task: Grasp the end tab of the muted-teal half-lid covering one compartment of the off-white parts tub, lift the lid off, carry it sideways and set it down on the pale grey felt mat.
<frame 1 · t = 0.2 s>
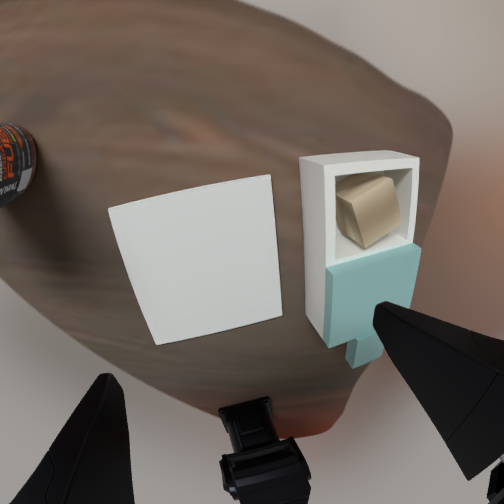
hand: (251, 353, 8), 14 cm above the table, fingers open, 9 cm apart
cube c: (350, 199, 23), resting on tub
lid: (369, 292, 23), point 4 cm above the table, touching tub
tub: (348, 235, 25), on the table
supplement bottle: (11, 160, 15), on the table
mat: (204, 268, 23), on the table
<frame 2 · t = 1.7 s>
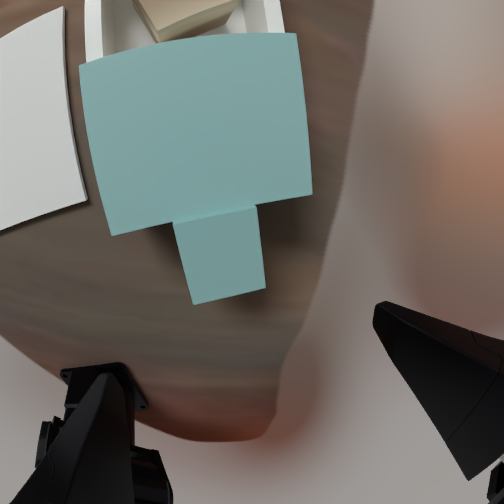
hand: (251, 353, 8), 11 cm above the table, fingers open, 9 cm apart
cube c: (178, 12, 11), resting on tub
lid: (197, 124, 11), point 4 cm above the table, touching tub
tub: (184, 64, 13), on the table
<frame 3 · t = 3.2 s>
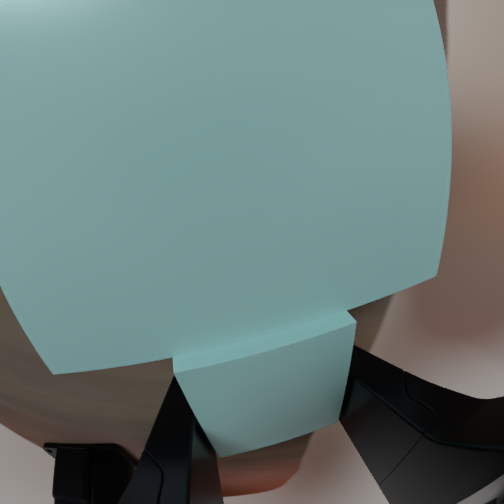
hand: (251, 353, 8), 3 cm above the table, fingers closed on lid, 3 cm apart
lid: (221, 120, 5), point 4 cm above the table, touching gripper, tub
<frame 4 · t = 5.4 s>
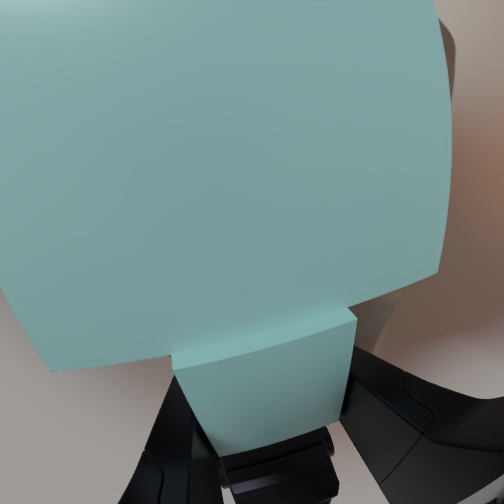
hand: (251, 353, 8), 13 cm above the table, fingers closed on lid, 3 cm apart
lid: (221, 116, 5), point 14 cm above the table, touching gripper
when the fingers open (1 cm above the table, at t = 7.8 s): lid drops 2 cm, resting on mat.
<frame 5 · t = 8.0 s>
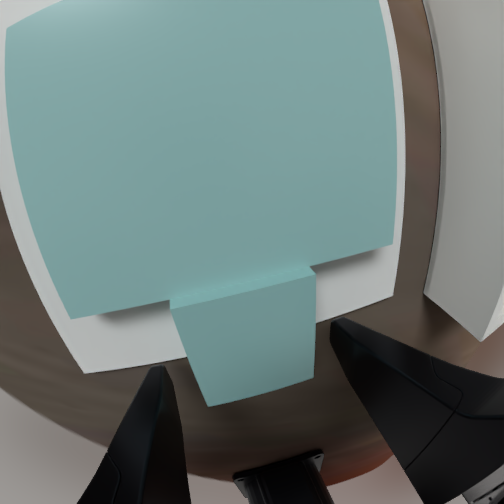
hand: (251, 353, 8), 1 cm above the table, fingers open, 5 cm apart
lid: (209, 120, 6), resting on mat
tub: (490, 133, 9), on the table
mat: (209, 135, 7), on the table
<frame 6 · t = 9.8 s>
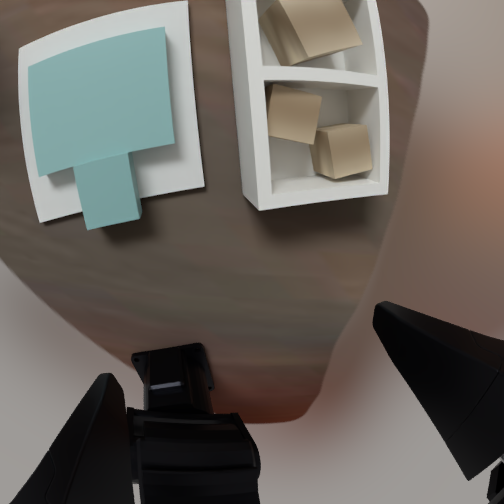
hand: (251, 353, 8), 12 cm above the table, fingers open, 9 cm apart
cube c: (295, 36, 15), resting on tub
cube a: (328, 146, 19), resting on tub
lid: (98, 100, 14), resting on mat
tub: (298, 82, 17), on the table
mat: (100, 106, 14), on the table
cube b: (276, 115, 17), resting on tub
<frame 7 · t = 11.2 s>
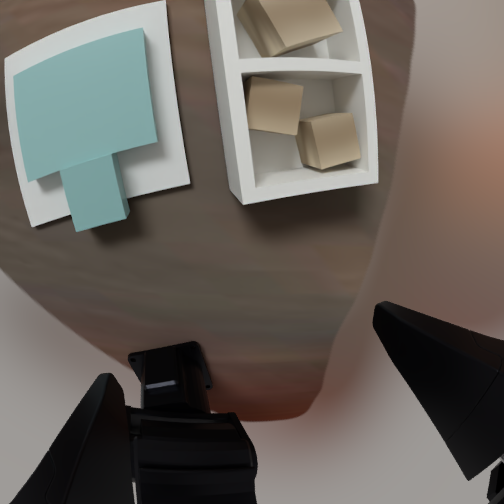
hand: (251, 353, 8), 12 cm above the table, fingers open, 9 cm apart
cube c: (276, 28, 15), resting on tub
cube a: (315, 137, 18), resting on tub
lid: (82, 104, 14), resting on mat
tub: (281, 74, 16), on the table
mat: (84, 109, 14), on the table
cube b: (260, 108, 17), resting on tub
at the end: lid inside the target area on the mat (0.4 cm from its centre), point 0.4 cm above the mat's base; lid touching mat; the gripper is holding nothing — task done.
